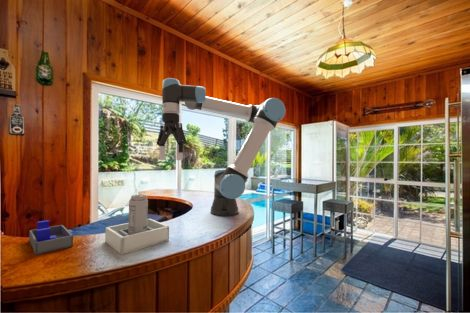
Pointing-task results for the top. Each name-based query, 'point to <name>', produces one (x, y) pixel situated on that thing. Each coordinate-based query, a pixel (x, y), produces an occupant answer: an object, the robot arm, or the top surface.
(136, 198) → the energy drink can
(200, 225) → the top surface
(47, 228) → the cable clip
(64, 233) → the clip tray
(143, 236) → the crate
